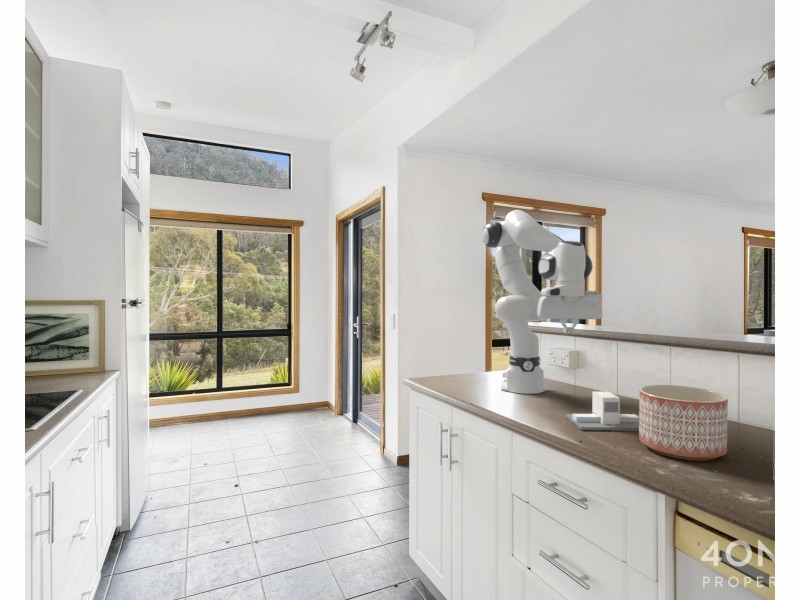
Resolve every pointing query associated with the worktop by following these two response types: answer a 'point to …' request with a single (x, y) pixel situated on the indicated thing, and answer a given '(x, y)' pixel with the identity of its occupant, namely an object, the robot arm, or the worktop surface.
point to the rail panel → (594, 423)
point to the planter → (683, 421)
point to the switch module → (606, 407)
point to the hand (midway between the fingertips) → (568, 332)
